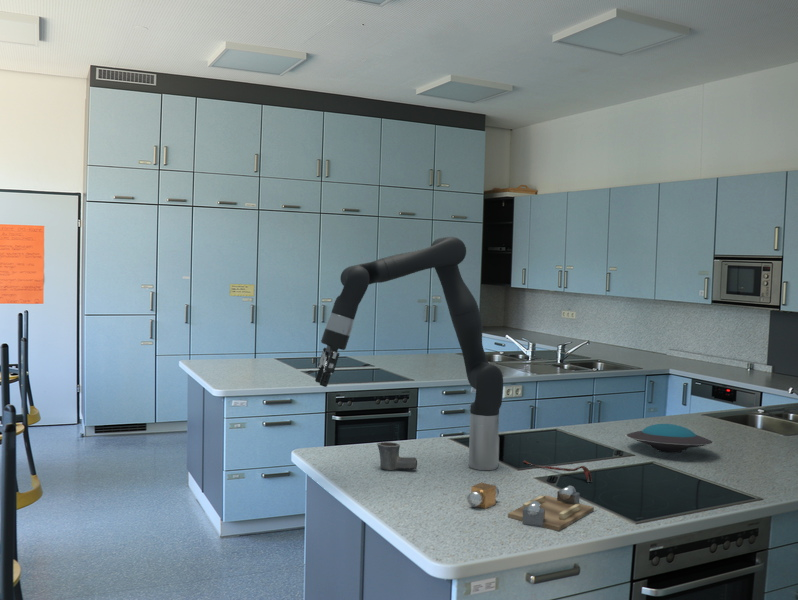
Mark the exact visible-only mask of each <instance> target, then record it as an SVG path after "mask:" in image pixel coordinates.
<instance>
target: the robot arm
mask: <svg viewBox="0 0 798 600" xmlns="http://www.w3.org/2000/svg"><path fill="white" fill-rule="evenodd" d="M466 255H467V247H466V245H465V243H464V241H463V240H461V239H460V238H458V237H454V236H446V237H440V238H437V239H435V240H434V241H432V243H431V245H430V246H429V247H425V248H422V249H418V250H414V251H408V252H403V253H399V254H397V253H396V254H394V255H389V256H387V257H381V258H379V259H376V260H374V261H371V262H364V263H360V264H354V265H351V266H348V267H346V268H345V269H343V270H342V272H341V274H340V282H341V285H342V286H343V288H342V290H341V293H340V294H339V295H338V296H337V297H336V298H335V300H334V303H333V307H332V309H331V313H330V314H329V317H328V320H327V322H326V325H325V328H324V330H323V334H322V337H321V340H320V343H321V344H323V345H325V346H326V347H324V348H323V349H322V352H321V355H320V359H319V361H318V364H317V369H318V370H317V373H316V376H315V379H314V381H315V383H317V384H319V386H322V387H323V388H324V387H325V388H327V387H328V385H329V382H330V378H331V375H333V374H334V372H335V370H336V367H337V364H338V359H339V356H340V352H338V351H339V350H341V351H345V350H346V348H347V346H348V343H349V339H350V336H351V333H352V330H353V328H354V327H353V325H354V321H355V318H356V315H357V311H358V307H359V305H360V303H361V302H362V300H363V298H364V296H365V294H366V292H367V290H368V287H369V285H372V284H379V283H380V284H381V283H386V282H389V281H392V280H396V279H400V278H402V277H406V276H409V275H411V274H416V273H418V272H421V271H425V270H429V269H434V270H435V272H436V274H437V277H438V280H439V282H440V285H441V288H442V290H443V291H442V292H443V295H444V298H445V301H446V305H447V308H448V309H447V310H448V312H449V315H450V319H451V322H452V325H453V326H452V327H453V328H454V332H455V334H456V339H457V341H458V343H459V346H460V350H461V354H462V357H463V362H464V367H465V374H466V377H467V381H468V383H469V384H470V386H471V387H472V388H473V389H475V399H474V401H473V402H472V403H471V404H470V407H469V408H470V409H469V411H470V413H469V441H468V442H469V443H468V467H469V468H471V469H474V470H480V471H491V470H493V471H494V470H496V469H497V468H498V466H499V462H500V461H499V460H500V436H499V435H500V434H499V430H500V429H499V427H500V426H499V425H500V409H501V407H502V405H503V403H502V402H503V393H504V391H503V390H504V375H503V372H502V370H501V369H500V368H499V367H498V366H497V365H494V364H492V363H490V362H489V361H488V358H487V356H486V352H485V349H484V345H483V332H484V331H483V320H482V319H483V318H482V315H481V312H480V308H479V305H478V303H477V300H476V298H475V296H474V295H473V293H472V292H471V291H470V289H469V288H468V286H467V285H466V283H465V280H464V279H463V277H462V274H461V272H460V269H459V264H462V263H463V262H464V259H465V258H466Z"/></svg>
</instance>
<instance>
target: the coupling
mask: <svg viewBox="0 0 798 600" xmlns="http://www.w3.org/2000/svg"><path fill="white" fill-rule="evenodd" d="M470 489H471V490H470V491H471V492H469V493H468V495H467V498H466V499H467V502H468V503H467V504H469V505H470V506H471V507H474V508H475V507H478V508H481V509H485V510H486V509H488V508H489V507H492V506H495V505H496V498H498V497H499V495H500V490H499V488H498V486H497V485H496V484H490V483H485V482H479V483H477V484H473V485H471V488H470Z"/></svg>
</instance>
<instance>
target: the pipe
mask: <svg viewBox="0 0 798 600" xmlns="http://www.w3.org/2000/svg"><path fill="white" fill-rule="evenodd" d="M376 446H377V448H378V453H379V459H380V460H379V461H380V464H379V465H380V468H381V469H383V470H385V471H393V470H394V471H395V470H409V471H410V470H413V471H414V470H416V469H417V468H418V460H417V457H413V456H409V457H407V456H406V457H404V456H402V457H401V456H400V447H401V444H400V443H397V442H391V441H382V442H381V441H380V442H378V443H376Z"/></svg>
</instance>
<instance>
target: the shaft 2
mask: <svg viewBox="0 0 798 600" xmlns="http://www.w3.org/2000/svg"><path fill="white" fill-rule="evenodd" d="M576 490H577V489H576V488H575V487H574V486H572V485H568V486H566V487H563V488H562V489H559V490H557V493H556V498H557V501H561V502H565V503H569V504H573V505H575V504H577V503H580V498H581V497H580V492H577V491H576Z"/></svg>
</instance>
